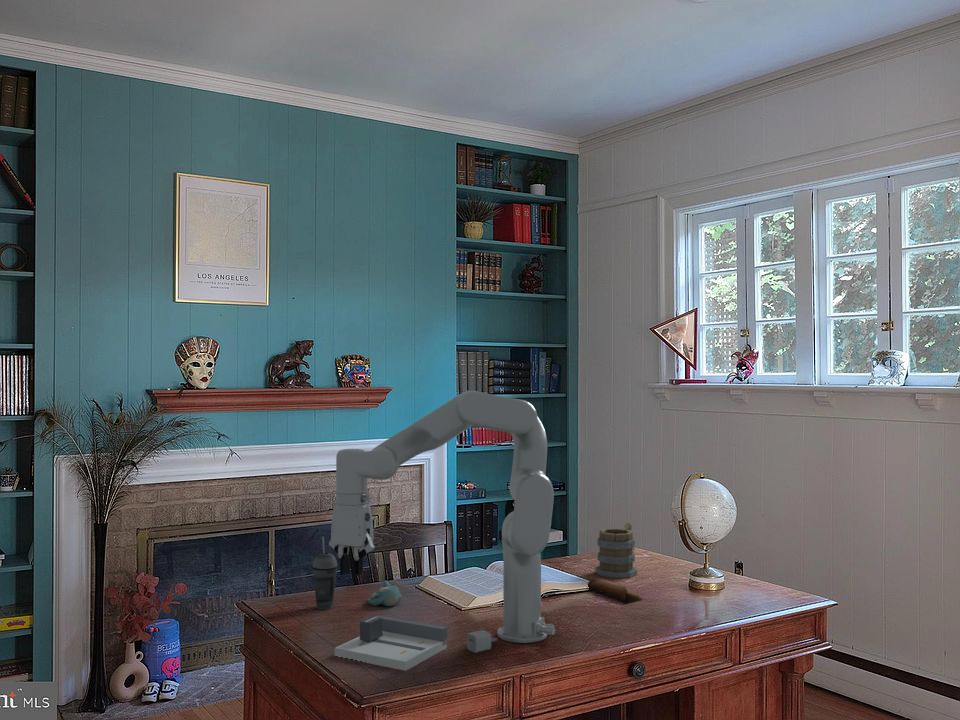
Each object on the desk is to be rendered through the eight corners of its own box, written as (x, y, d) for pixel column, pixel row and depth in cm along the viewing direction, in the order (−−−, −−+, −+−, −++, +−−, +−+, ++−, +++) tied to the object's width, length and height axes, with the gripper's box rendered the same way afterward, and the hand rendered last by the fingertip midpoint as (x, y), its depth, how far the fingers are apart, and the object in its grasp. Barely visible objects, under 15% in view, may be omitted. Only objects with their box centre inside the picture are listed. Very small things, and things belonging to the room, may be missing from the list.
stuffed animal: (390, 577, 252) (409, 578, 242) (392, 602, 251) (411, 603, 241) (357, 582, 246) (375, 583, 236) (359, 607, 245) (377, 609, 235)
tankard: (626, 580, 270) (626, 533, 271) (590, 575, 277) (590, 529, 277) (649, 567, 287) (649, 523, 287) (615, 563, 294) (615, 520, 294)
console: (447, 647, 204) (447, 626, 204) (405, 670, 188) (405, 648, 188) (379, 635, 214) (379, 615, 214) (334, 656, 198) (334, 634, 198)
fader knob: (382, 635, 205) (382, 617, 205) (370, 641, 201) (370, 622, 201) (372, 634, 207) (372, 615, 207) (359, 639, 202) (359, 620, 202)
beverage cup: (320, 613, 233) (320, 540, 234) (307, 607, 239) (307, 536, 239) (342, 608, 238) (343, 537, 238) (329, 602, 244) (329, 533, 244)
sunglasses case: (647, 599, 247) (639, 581, 246) (632, 614, 244) (623, 596, 242) (607, 586, 263) (599, 569, 261) (592, 600, 259) (583, 583, 258)
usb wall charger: (466, 649, 203) (467, 632, 203) (490, 643, 207) (490, 627, 207) (476, 653, 200) (476, 636, 200) (499, 648, 204) (499, 631, 204)
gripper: (387, 500, 207) (387, 575, 206) (334, 495, 214) (334, 567, 214) (369, 504, 200) (369, 581, 200) (315, 499, 208) (315, 573, 208)
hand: (351, 573), depth 207 cm, fingers open, 3 cm apart
